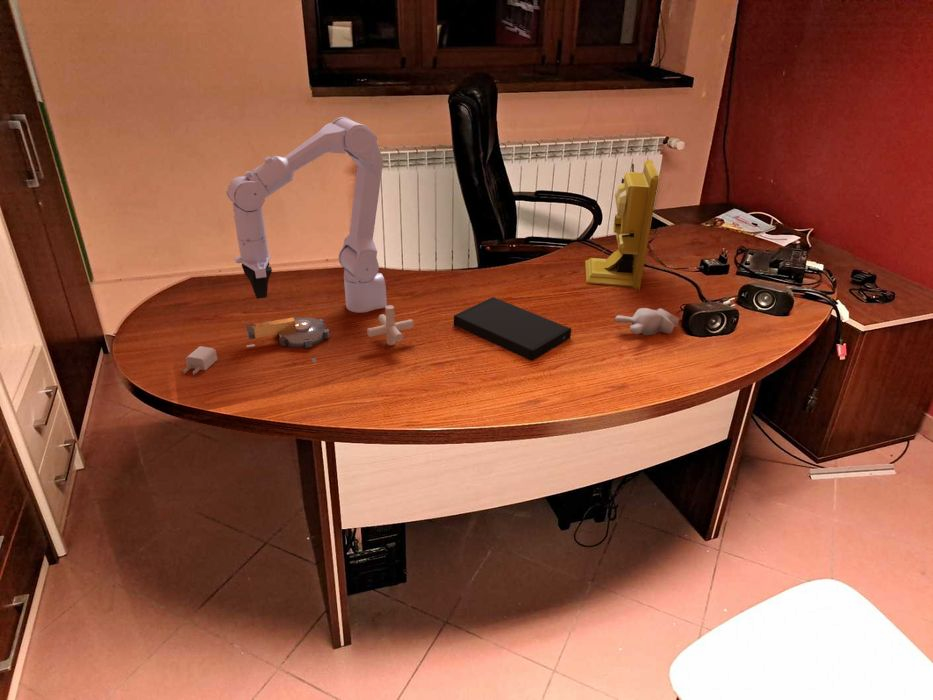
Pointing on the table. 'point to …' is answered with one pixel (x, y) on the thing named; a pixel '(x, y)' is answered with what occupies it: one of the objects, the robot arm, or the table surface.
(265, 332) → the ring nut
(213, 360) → the usb wall charger
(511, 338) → the external hard drive
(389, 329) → the pipe connector
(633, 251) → the vintage telephone
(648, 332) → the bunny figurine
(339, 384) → the table surface
